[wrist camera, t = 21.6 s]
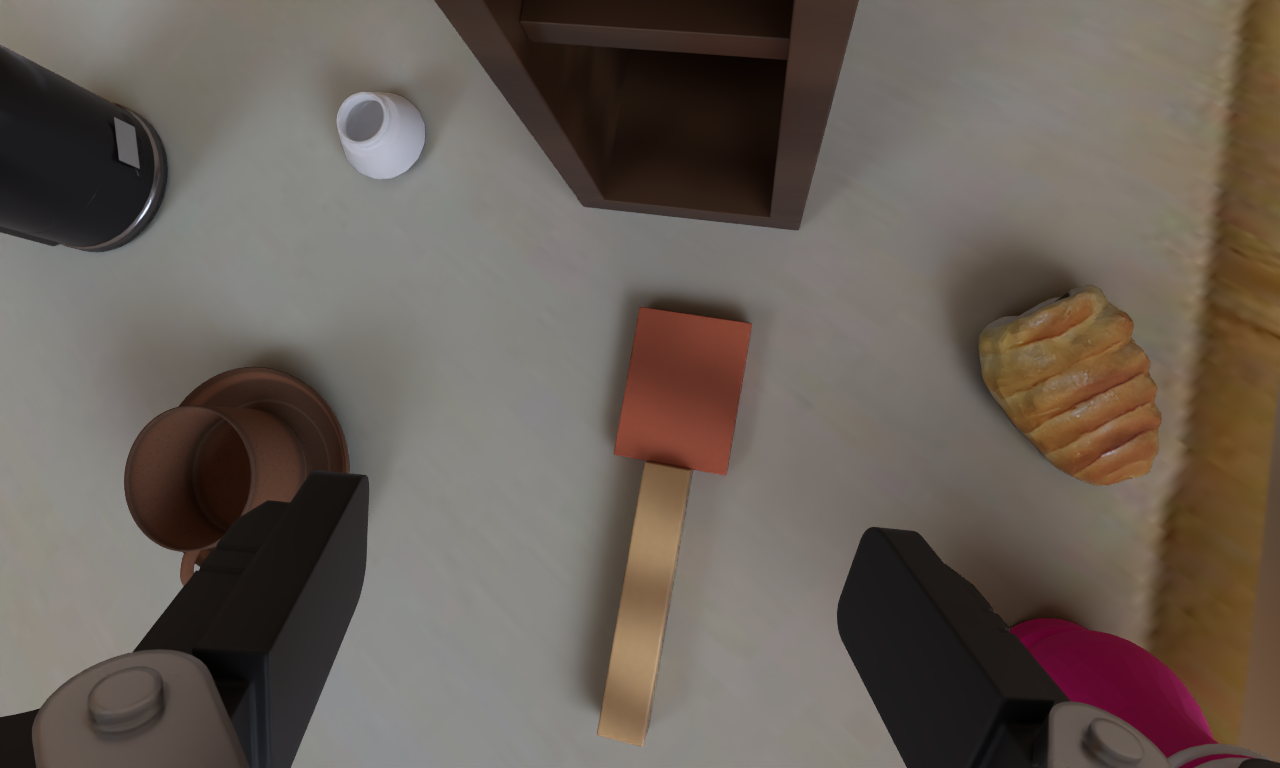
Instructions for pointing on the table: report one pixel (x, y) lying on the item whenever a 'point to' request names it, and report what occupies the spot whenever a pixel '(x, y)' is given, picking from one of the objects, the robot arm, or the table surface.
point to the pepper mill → (1128, 690)
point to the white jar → (380, 133)
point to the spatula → (666, 484)
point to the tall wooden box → (670, 97)
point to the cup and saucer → (228, 457)
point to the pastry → (1076, 385)
